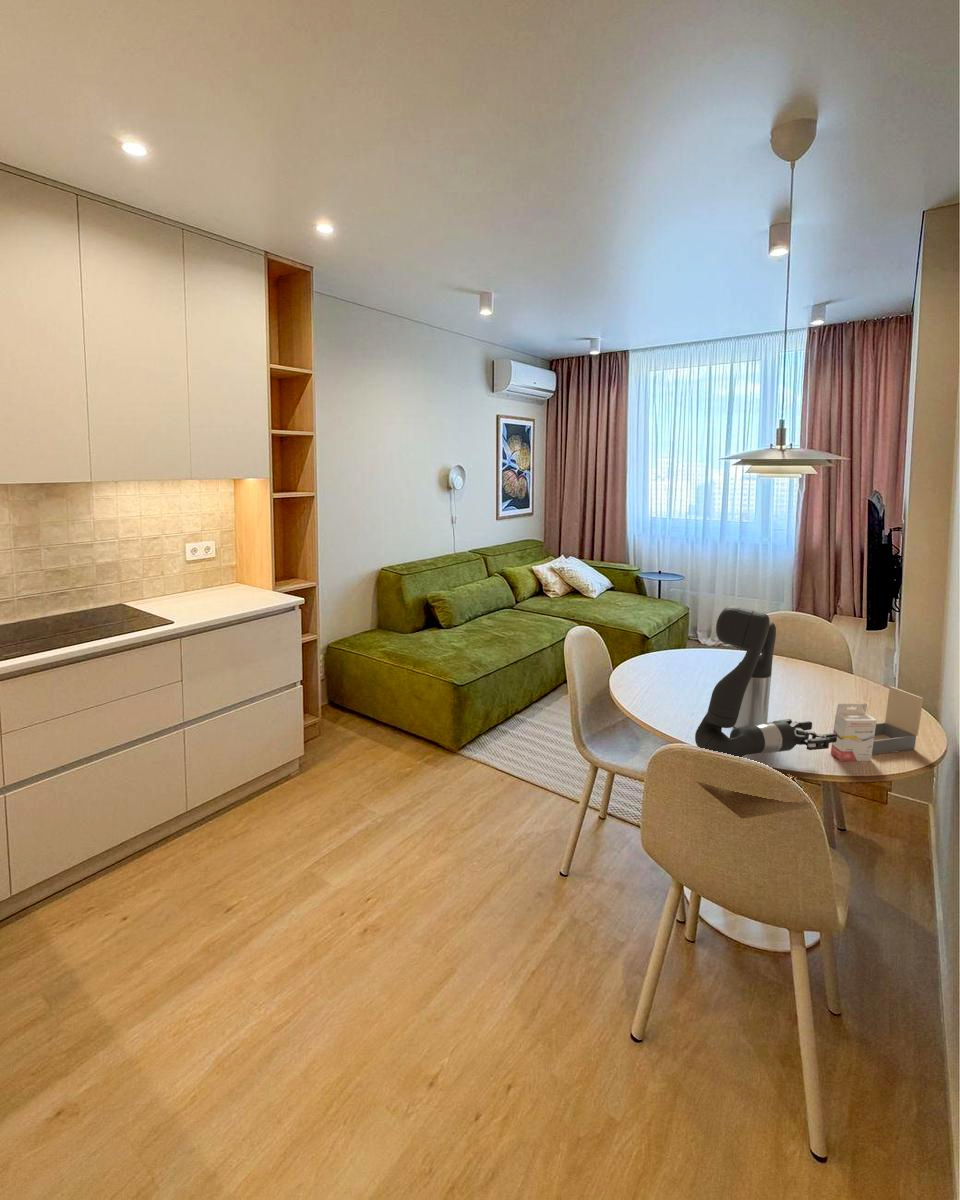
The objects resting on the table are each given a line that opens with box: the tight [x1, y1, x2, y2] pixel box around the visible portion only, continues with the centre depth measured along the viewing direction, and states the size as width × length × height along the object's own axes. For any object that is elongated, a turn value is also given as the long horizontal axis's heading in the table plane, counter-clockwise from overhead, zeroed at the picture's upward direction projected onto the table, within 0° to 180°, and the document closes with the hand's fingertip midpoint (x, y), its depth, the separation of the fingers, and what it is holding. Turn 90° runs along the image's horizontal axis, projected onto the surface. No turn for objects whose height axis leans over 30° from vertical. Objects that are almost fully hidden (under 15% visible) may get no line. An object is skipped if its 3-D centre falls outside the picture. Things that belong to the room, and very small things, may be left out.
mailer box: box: [872, 686, 924, 756], centre depth 176 cm, size 10×15×15 cm
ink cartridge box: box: [830, 702, 877, 762], centre depth 168 cm, size 9×5×15 cm, turn 92°
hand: (823, 731), depth 165 cm, fingers open, 8 cm apart
